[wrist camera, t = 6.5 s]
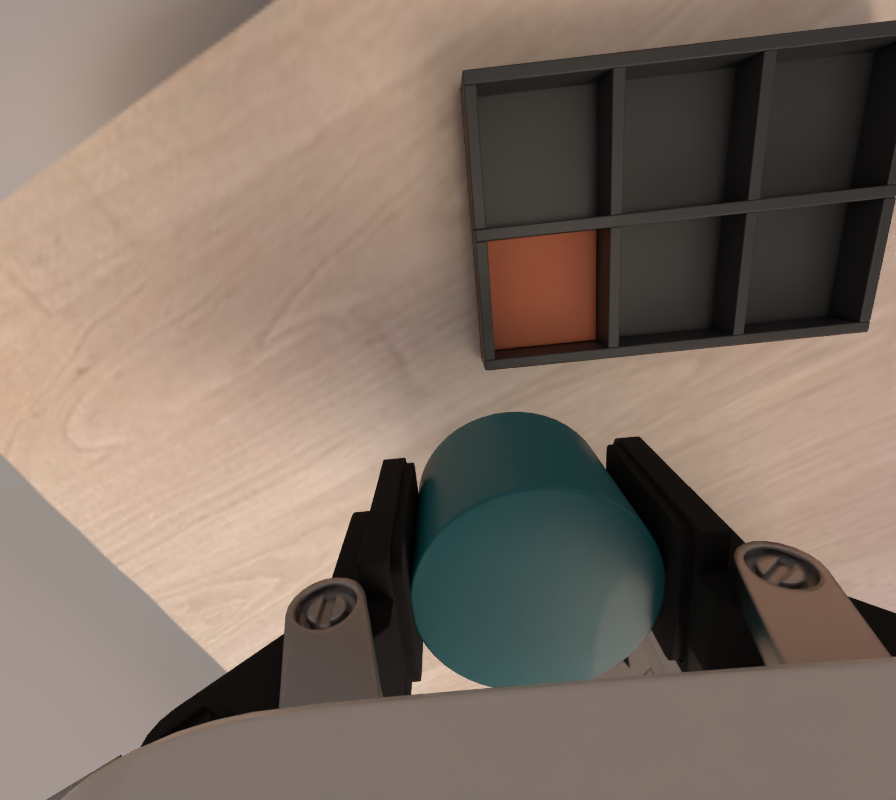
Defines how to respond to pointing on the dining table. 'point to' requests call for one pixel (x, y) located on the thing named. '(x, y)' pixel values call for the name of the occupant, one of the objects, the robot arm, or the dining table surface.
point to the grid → (681, 194)
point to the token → (529, 556)
